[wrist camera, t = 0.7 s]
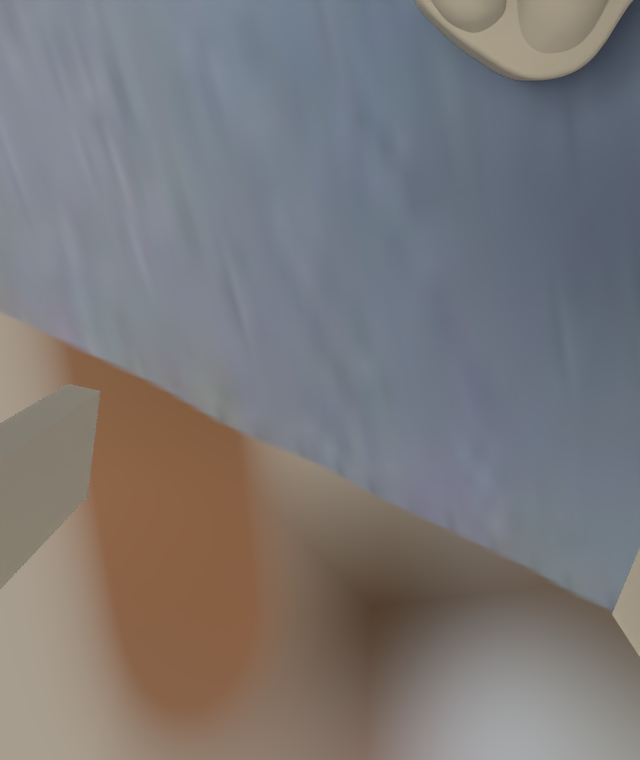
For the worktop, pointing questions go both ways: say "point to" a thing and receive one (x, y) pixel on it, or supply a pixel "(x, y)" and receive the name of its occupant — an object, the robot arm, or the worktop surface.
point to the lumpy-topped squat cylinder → (527, 32)
